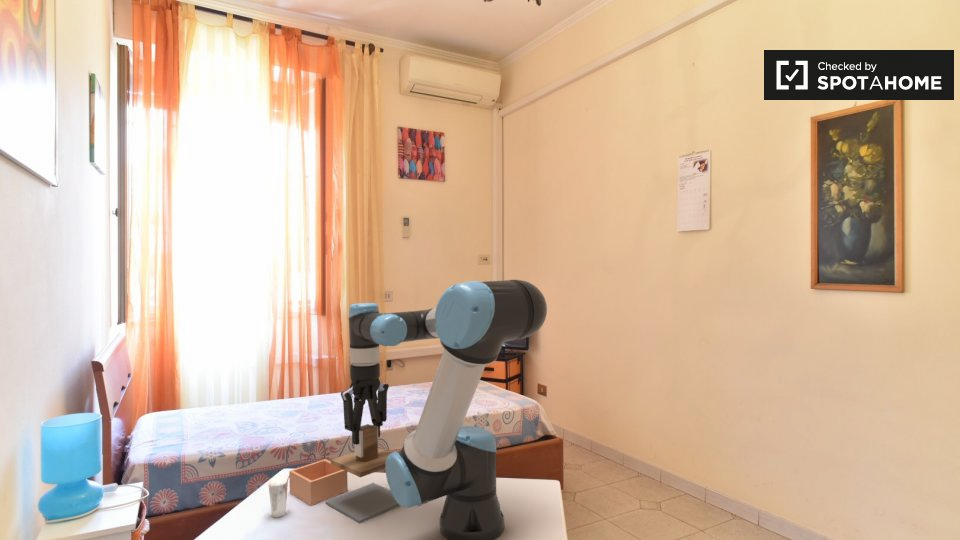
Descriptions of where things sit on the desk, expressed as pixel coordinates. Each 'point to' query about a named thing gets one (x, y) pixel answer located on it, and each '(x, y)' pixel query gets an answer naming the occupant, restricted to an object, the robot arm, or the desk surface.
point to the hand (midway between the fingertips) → (366, 453)
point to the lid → (364, 455)
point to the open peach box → (317, 482)
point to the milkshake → (278, 495)
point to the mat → (364, 502)
